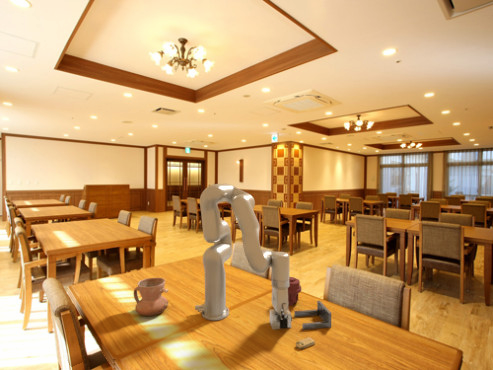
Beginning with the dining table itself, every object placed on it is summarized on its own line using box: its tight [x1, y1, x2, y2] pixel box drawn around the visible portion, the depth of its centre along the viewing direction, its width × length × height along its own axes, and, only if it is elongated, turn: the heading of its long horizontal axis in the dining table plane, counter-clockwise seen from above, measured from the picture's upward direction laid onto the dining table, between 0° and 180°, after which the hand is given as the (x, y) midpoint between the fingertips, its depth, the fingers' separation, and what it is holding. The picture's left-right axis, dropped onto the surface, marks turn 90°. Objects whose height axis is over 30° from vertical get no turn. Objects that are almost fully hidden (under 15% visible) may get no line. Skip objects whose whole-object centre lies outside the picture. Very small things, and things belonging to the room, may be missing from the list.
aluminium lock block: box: [269, 308, 293, 330], centre depth 113 cm, size 9×5×6 cm, turn 99°
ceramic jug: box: [133, 277, 169, 317], centre depth 125 cm, size 18×14×14 cm
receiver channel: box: [293, 300, 332, 331], centre depth 116 cm, size 12×11×6 cm
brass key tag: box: [295, 336, 316, 350], centre depth 100 cm, size 7×3×1 cm, turn 119°
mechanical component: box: [288, 276, 302, 306], centre depth 133 cm, size 12×10×10 cm
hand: (280, 321), depth 113 cm, fingers open, 9 cm apart
